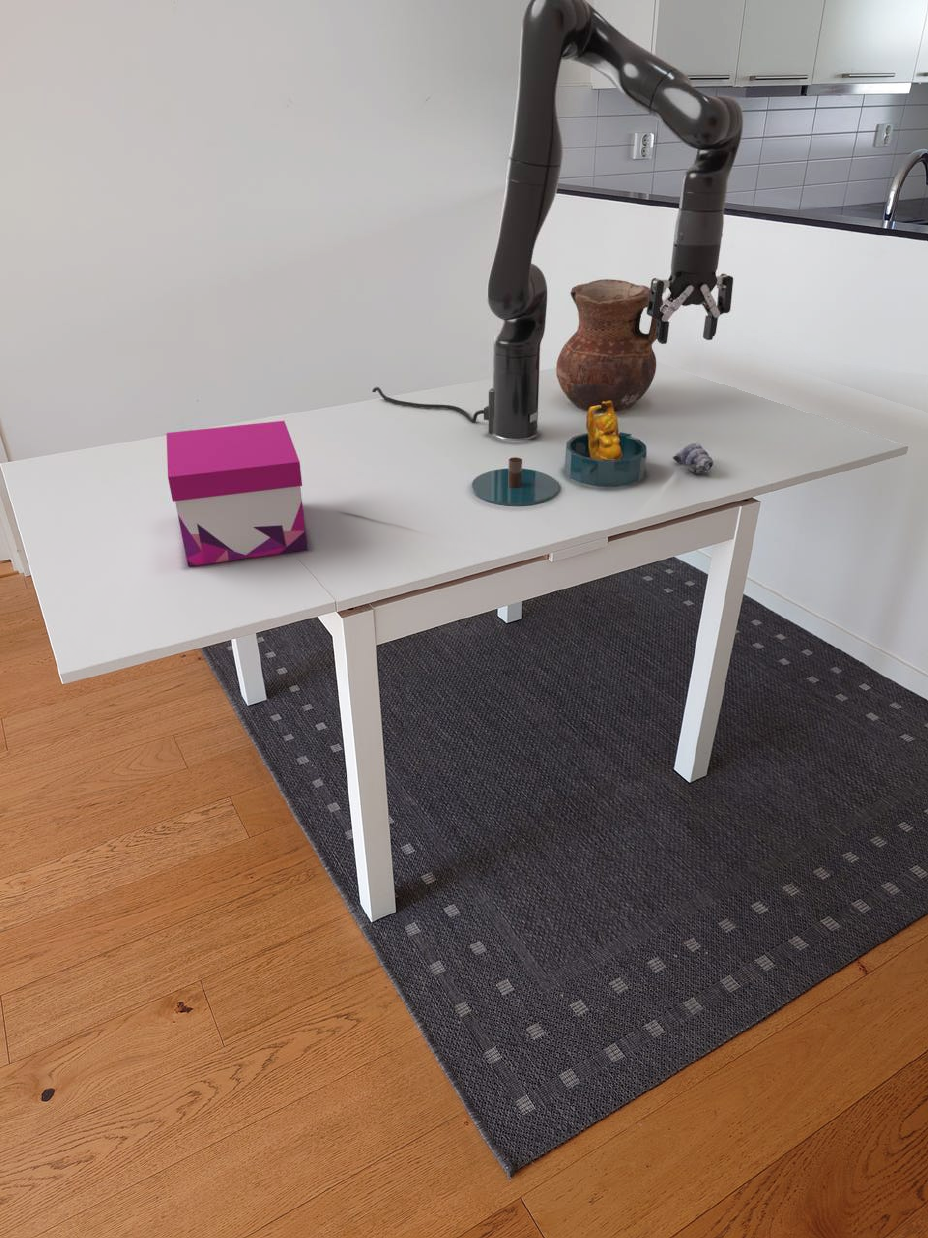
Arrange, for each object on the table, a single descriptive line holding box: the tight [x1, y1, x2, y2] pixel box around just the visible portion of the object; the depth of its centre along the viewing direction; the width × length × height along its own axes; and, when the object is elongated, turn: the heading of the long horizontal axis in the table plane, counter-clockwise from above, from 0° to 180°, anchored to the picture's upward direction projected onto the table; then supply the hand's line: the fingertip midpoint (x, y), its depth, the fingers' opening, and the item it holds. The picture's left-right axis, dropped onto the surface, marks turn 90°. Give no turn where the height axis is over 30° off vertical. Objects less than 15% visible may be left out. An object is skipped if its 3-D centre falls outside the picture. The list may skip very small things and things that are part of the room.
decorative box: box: [166, 420, 308, 567], centre depth 142 cm, size 19×19×15 cm
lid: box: [471, 456, 559, 507], centre depth 158 cm, size 16×16×6 cm
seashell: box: [672, 442, 714, 474], centre depth 166 cm, size 5×5×10 cm
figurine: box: [585, 401, 622, 460], centre depth 163 cm, size 6×7×13 cm
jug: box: [555, 278, 664, 413], centre depth 194 cm, size 22×21×25 cm
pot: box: [564, 431, 648, 488], centre depth 164 cm, size 15×20×5 cm
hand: (684, 340), depth 152 cm, fingers open, 8 cm apart
